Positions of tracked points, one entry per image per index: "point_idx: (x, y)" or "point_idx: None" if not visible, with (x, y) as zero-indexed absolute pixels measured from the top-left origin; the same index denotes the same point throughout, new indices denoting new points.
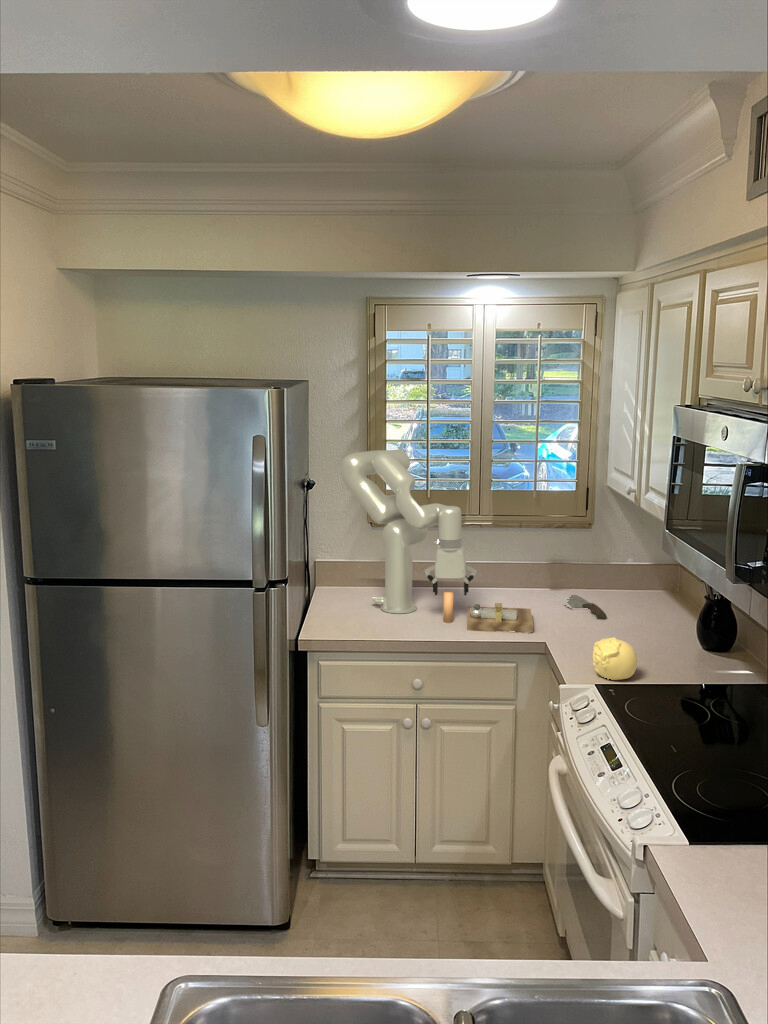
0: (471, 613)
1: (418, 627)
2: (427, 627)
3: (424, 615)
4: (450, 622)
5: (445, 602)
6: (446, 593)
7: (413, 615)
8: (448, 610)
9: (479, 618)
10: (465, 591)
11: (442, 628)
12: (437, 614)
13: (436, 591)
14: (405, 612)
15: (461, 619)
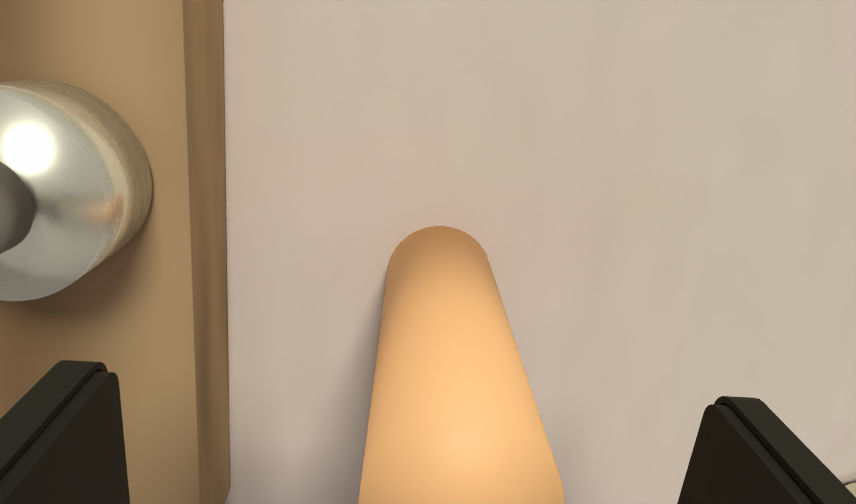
0: (100, 129)
1: (798, 43)
2: (692, 49)
3: (662, 445)
4: (414, 232)
5: (503, 342)
6: (512, 441)
7: None
8: (445, 277)
9: None
10: (27, 408)
11: (518, 17)
12: None
13: (765, 448)
14: (848, 489)
15: (295, 347)
